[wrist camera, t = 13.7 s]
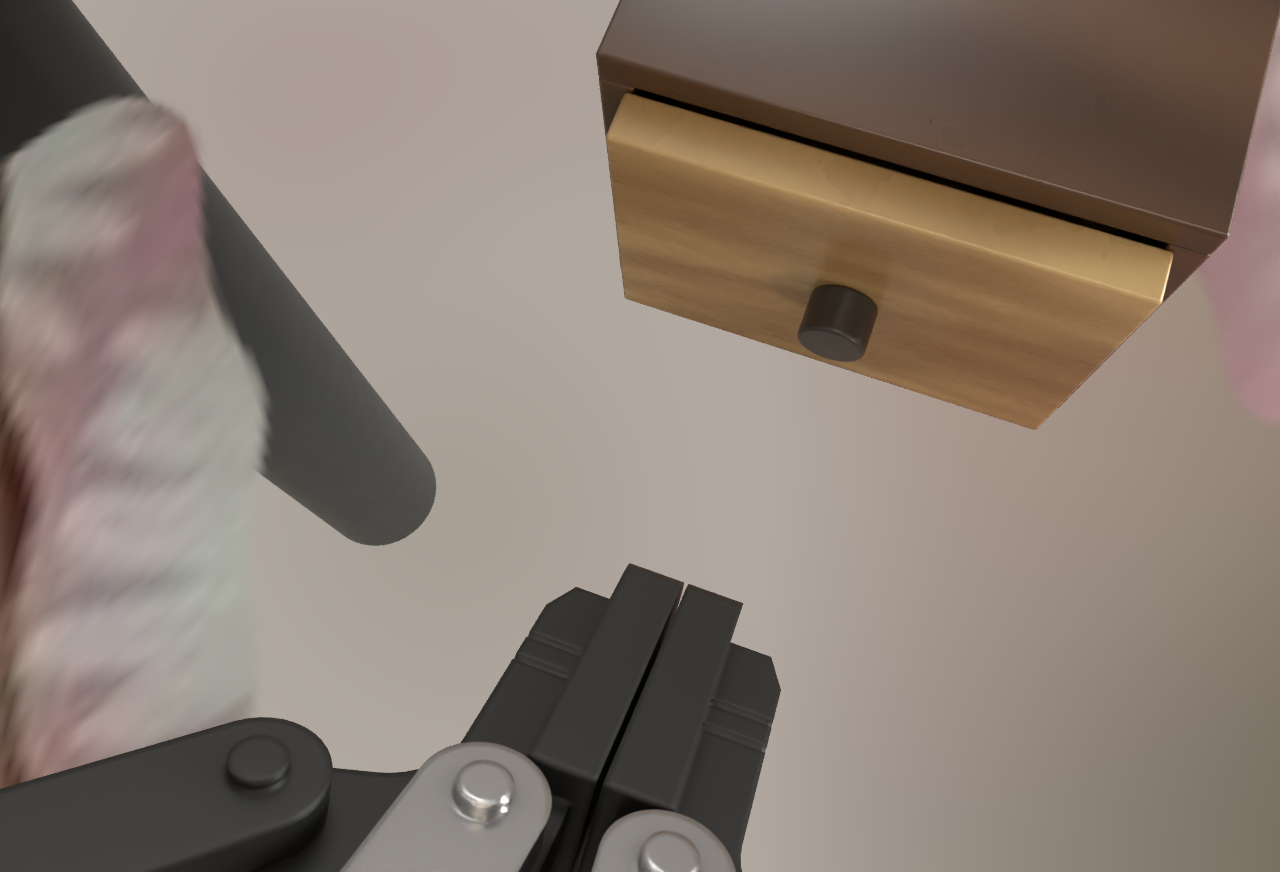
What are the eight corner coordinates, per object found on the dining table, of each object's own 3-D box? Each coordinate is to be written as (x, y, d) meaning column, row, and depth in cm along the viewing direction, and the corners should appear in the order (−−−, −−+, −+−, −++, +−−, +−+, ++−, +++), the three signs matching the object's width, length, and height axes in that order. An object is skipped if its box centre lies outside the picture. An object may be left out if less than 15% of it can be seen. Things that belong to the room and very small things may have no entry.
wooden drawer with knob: (1024, 473, 28) (1149, 359, 20) (608, 337, 29) (583, 185, 22) (1148, 19, 32) (1290, -215, 24) (776, -80, 33) (804, -326, 26)
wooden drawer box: (1058, 409, 29) (1230, 237, 20) (620, 270, 31) (594, 54, 22) (1172, -16, 33) (1358, -320, 24) (779, -117, 35) (813, -437, 26)
